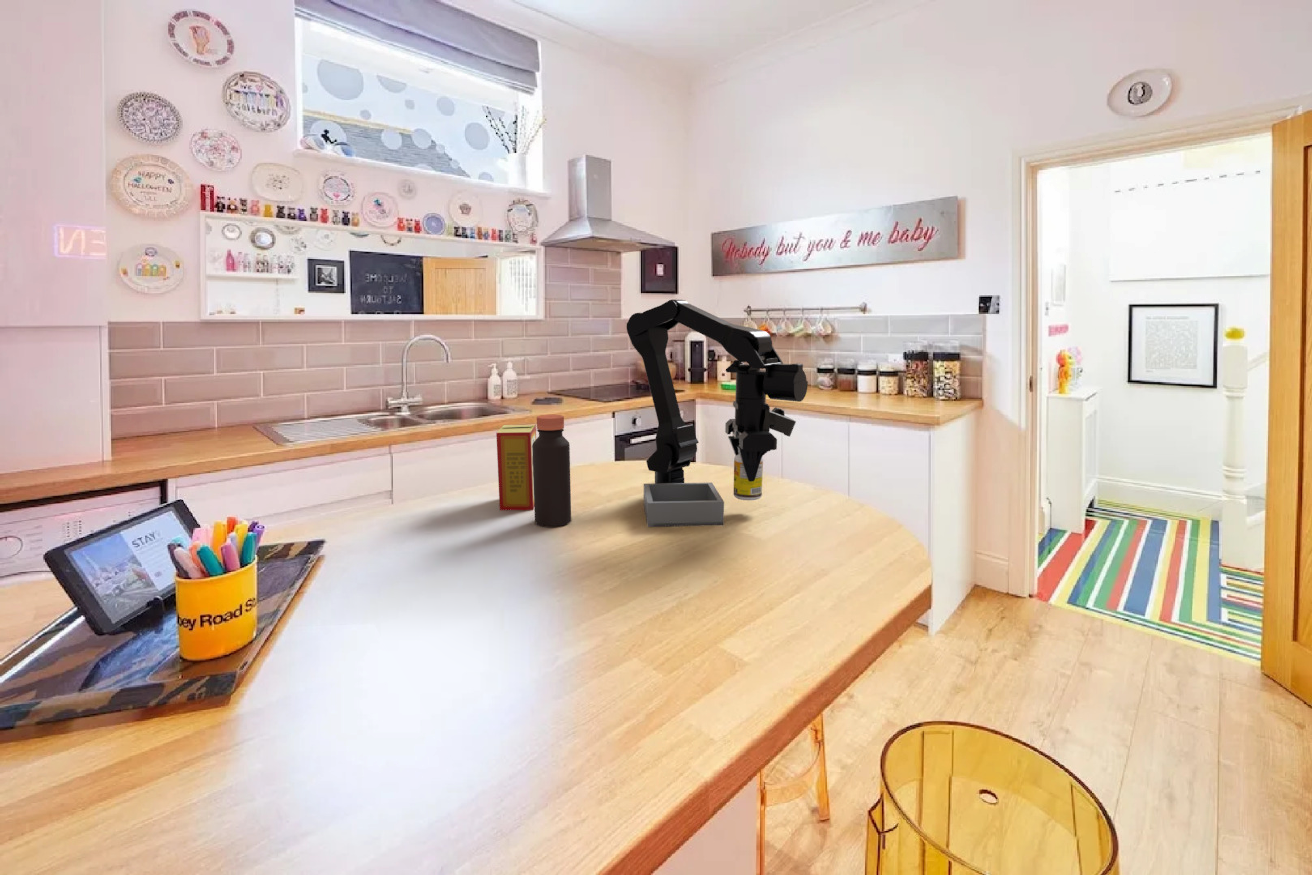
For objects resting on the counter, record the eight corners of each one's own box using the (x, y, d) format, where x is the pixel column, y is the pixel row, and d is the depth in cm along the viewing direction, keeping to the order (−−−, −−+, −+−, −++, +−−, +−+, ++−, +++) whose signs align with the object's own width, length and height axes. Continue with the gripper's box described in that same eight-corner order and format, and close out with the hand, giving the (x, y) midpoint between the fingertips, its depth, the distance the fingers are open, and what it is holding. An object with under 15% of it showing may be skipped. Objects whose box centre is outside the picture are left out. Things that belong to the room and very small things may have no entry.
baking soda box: (533, 509, 130) (530, 430, 127) (499, 510, 130) (496, 431, 127) (538, 496, 139) (535, 422, 136) (507, 497, 139) (503, 423, 136)
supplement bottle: (736, 492, 131) (738, 442, 129) (764, 495, 129) (766, 444, 127) (730, 499, 126) (731, 447, 124) (758, 502, 124) (760, 449, 122)
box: (647, 526, 120) (647, 503, 119) (643, 504, 133) (643, 483, 132) (723, 525, 121) (724, 501, 120) (711, 503, 134) (712, 482, 133)
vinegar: (568, 528, 119) (565, 419, 115) (531, 527, 119) (527, 419, 115) (573, 516, 125) (571, 413, 122) (538, 516, 126) (535, 413, 122)
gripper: (806, 403, 115) (802, 489, 118) (779, 391, 133) (776, 465, 136) (744, 404, 114) (742, 490, 117) (725, 391, 133) (723, 466, 136)
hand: (748, 477), depth 127 cm, fingers closed on supplement bottle, 6 cm apart
